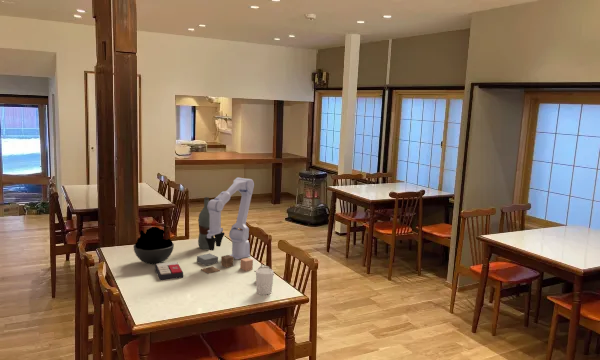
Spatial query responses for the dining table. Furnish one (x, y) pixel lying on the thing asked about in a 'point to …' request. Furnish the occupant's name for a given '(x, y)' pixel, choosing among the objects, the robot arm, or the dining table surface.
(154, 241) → the coal bowl
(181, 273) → the black and red box
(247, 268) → the terracotta block
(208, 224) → the bottle
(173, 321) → the dining table surface
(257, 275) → the white cylinder
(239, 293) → the dining table surface
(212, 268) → the tile
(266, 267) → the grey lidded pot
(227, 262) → the walnut block
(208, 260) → the base block
